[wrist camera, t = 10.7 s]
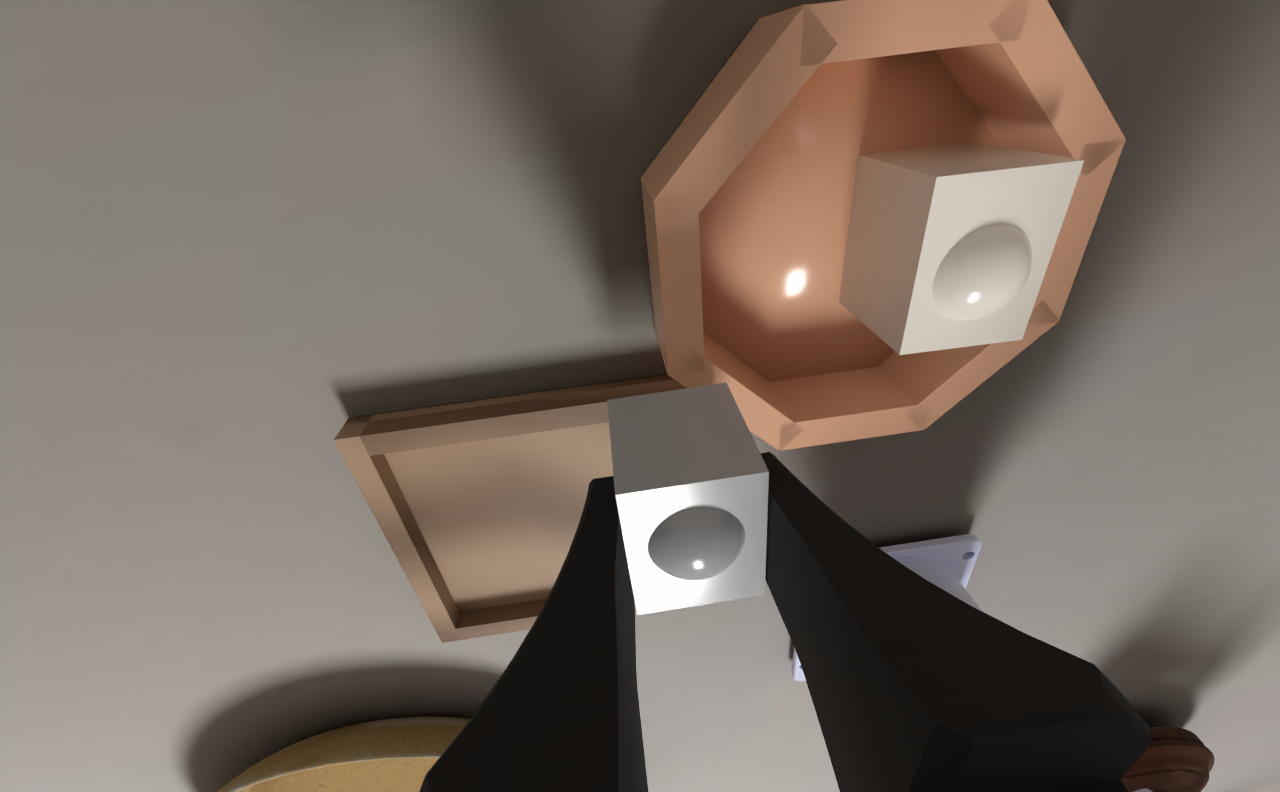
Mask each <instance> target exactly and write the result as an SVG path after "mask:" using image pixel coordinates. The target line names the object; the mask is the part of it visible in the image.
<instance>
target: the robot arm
mask: <svg viewBox="0 0 1280 792" xmlns="http://www.w3.org/2000/svg"><path fill="white" fill-rule="evenodd" d="M761 456H762V458H763V460H764V462H765V464H766V467H767V469H768V471H769V485H768V515H767V545H766V574H765V579H766V582H767V584H768V586H769V589H770V591H771V593H772V596H773V598H774V600H775V603H776V605H777V607H778V610H779V612H780V614H781V617H782V619H783V621H784V624H785V626H786V628H787V631H788V633H789V635H790V638H791V640H792V642H793V645H794V653H793V662H792V675H793V678H794V679H795V680H796V681H806V682H807V685H808V688H809V691H810V694H811V697H812V701H813V704H814V707H815V710H816V713H817V717H818V720H819V723H820V726H821V730H822V733H823V736H824V739H825V742H826V746H827V749H828V752H829V756H830V759H831V762H832V766H833V769H834V773H835V776H836V779H837V783H838V786H839V790H840V792H1129V791H1128V790H1127V789H1126V787H1125V786H1124V785H1123V783H1122V782H1121V781H1120V779H1121V778H1122V777H1123V776H1124V775H1125V774H1126V772H1127V771H1128V770H1129V769H1130V768H1131V767H1132V766H1133V765H1134V764H1135V763H1136V762H1137V760H1138V759H1139V758H1140V757H1141V756H1142V755H1143V754H1144V752H1145V751H1146V749H1147V748H1148V746H1149V745H1150V737H1151V728H1150V727H1149V725H1148V724H1147V723H1146V722H1145V721H1144V720H1143V718H1142V717H1141V716H1140V715H1139V714H1138V713H1137V711H1136V710H1135V709H1134V708H1133V707H1132V705H1131V704H1130V703H1129V702H1128V701H1127V699H1126V698H1125V697H1124V696H1123V695H1122V694H1121V692H1120V691H1119V690H1118V689H1117V688H1116V687H1115V686H1114V685H1113V684H1112V683H1111V682H1110V680H1109V679H1108V678H1107V677H1106V676H1105V675H1104V674H1103V673H1102V672H1101V671H1100V670H1099V669H1098V668H1097V667H1096V666H1095V665H1094V664H1092V663H1089V662H1087V661H1085V660H1083V659H1081V658H1078V657H1076V656H1074V655H1072V654H1069V653H1067V652H1065V651H1063V650H1061V649H1058V648H1056V647H1054V646H1052V645H1049V644H1047V643H1045V642H1043V641H1040V640H1038V639H1036V638H1034V637H1032V636H1029V635H1027V634H1025V633H1023V632H1021V631H1019V630H1017V629H1015V628H1013V627H1011V626H1009V625H1007V624H1005V623H1003V622H1001V621H999V620H997V619H995V618H993V617H991V616H990V615H988V614H986V613H984V612H982V610H981V609H980V608H979V606H978V605H977V604H976V602H975V601H974V600H973V598H972V597H971V596H970V594H969V593H968V592H967V590H966V589H965V588H966V586H967V583H968V580H969V578H970V575H971V572H972V570H973V567H974V564H975V562H976V559H977V556H978V554H979V551H980V548H981V546H982V542H981V541H980V539H979V538H978V537H977V536H976V535H974V534H966V535H959V536H952V537H946V538H939V539H932V540H926V541H919V542H912V543H906V544H899V545H892V546H886V547H877V546H876V545H875V544H873V543H872V542H871V541H869V540H868V539H867V538H865V537H864V536H863V535H862V534H860V533H859V532H858V531H856V530H855V529H854V528H853V527H851V526H850V525H849V524H848V523H846V522H845V521H844V520H843V519H842V518H840V517H839V516H838V515H837V514H836V513H835V512H833V511H832V510H831V509H830V508H829V507H828V506H827V505H826V504H824V503H823V502H822V501H821V500H820V499H819V498H818V497H816V496H815V495H814V494H813V493H812V492H811V491H810V490H809V489H808V488H807V487H806V486H805V485H804V484H802V483H801V482H800V481H799V480H798V479H797V478H796V477H795V476H794V475H793V474H792V473H791V472H790V471H789V470H788V469H787V468H786V467H785V466H784V465H783V464H782V463H781V462H780V461H779V460H778V459H777V458H776V457H775V456H774V455H773V454H772V453H770V452H767V453H761ZM419 792H648V785H647V776H646V767H645V758H644V748H643V739H642V730H641V720H640V711H639V701H638V692H637V677H636V645H635V599H634V594H633V589H632V583H631V578H630V572H629V567H628V562H627V556H626V551H625V546H624V540H623V535H622V529H621V524H620V519H619V513H618V508H617V503H616V497H615V488H614V476H609V477H602V478H595V479H593V480H592V481H591V482H590V483H589V487H588V493H587V497H586V501H585V505H584V508H583V512H582V515H581V518H580V521H579V525H578V527H577V530H576V533H575V536H574V538H573V541H572V544H571V546H570V549H569V552H568V554H567V557H566V559H565V561H564V563H563V566H562V568H561V570H560V572H559V575H558V577H557V579H556V581H555V584H554V586H553V588H552V590H551V592H550V594H549V596H548V598H547V600H546V602H545V604H544V606H543V608H542V610H541V611H540V613H539V615H538V617H537V619H536V621H535V622H534V624H533V626H532V628H531V629H530V631H529V633H528V634H527V636H526V638H525V639H524V641H523V643H522V644H521V646H520V648H519V649H518V651H517V653H516V654H515V656H514V657H513V659H512V661H511V662H510V664H509V665H508V667H507V668H506V670H505V671H504V673H503V674H502V676H501V677H500V678H499V680H498V681H497V683H496V684H495V685H494V687H493V688H492V690H491V691H490V693H489V694H488V695H487V697H486V698H485V700H484V701H483V702H482V704H481V705H480V707H479V708H478V709H477V711H476V712H475V714H474V715H473V716H472V718H471V719H470V720H469V721H468V723H467V724H466V725H465V727H464V728H463V729H462V730H461V732H460V733H459V734H458V735H457V736H456V738H455V739H454V740H453V741H452V743H451V744H450V745H449V746H448V748H447V749H446V750H445V751H444V753H443V754H442V755H441V756H440V758H439V759H438V760H437V761H436V762H435V764H434V765H433V766H432V767H431V769H430V770H429V771H428V772H427V774H426V775H425V778H424V780H423V783H422V785H421V788H420V791H419ZM1134 792H1153V791H1151V790H1149V789H1147V788H1146V789H1140V790H1137V791H1134Z"/></svg>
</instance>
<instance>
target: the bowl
mask: <svg viewBox="0 0 1280 792" xmlns="http://www.w3.org/2000/svg"><path fill="white" fill-rule="evenodd" d="M1125 141H1126V139H1125V137H1124V135H1123V133H1122V131H1121V130H1120V128H1119V126H1118V124H1117V123H1116V121H1115V119H1114V117H1113V116H1112V114H1111V112H1110V110H1109V109H1108V107H1107V105H1106V103H1105V101H1104V100H1103V98H1102V96H1101V94H1100V93H1099V91H1098V89H1097V87H1096V86H1095V84H1094V82H1093V80H1092V78H1091V77H1090V75H1089V73H1088V71H1087V70H1086V68H1085V66H1084V64H1083V63H1082V61H1081V59H1080V57H1079V55H1078V54H1077V52H1076V50H1075V48H1074V47H1073V45H1072V43H1071V41H1070V40H1069V38H1068V36H1067V34H1066V33H1065V31H1064V29H1063V27H1062V25H1061V24H1060V22H1059V20H1058V18H1057V17H1056V15H1055V13H1054V11H1053V10H1052V8H1051V6H1050V4H1049V2H1048V1H1047V0H843V1H834V2H826V3H817V4H809V5H806V4H803V5H800V6H797V7H793V8H790V9H787V10H784V11H781V12H778V13H775V14H772V15H768V16H765V17H762V18H759V19H758V21H757V22H756V24H755V25H754V26H753V28H752V29H751V30H750V32H749V33H748V34H747V36H746V37H745V38H744V40H743V41H742V43H741V44H740V45H739V47H738V48H737V49H736V51H735V52H734V53H733V55H732V56H731V57H730V59H729V60H728V61H727V63H726V64H725V65H724V67H723V68H722V69H721V71H720V72H719V73H718V75H717V76H716V77H715V79H714V80H713V81H712V83H711V84H710V85H709V87H708V88H707V89H706V91H705V92H704V94H703V95H702V96H701V98H700V99H699V100H698V102H697V103H696V104H695V106H694V107H693V108H692V110H691V111H690V112H689V114H688V115H687V116H686V118H685V119H684V120H683V122H682V123H681V124H680V126H679V127H678V128H677V130H676V131H675V132H674V134H673V135H672V136H671V138H670V139H669V141H668V142H667V143H666V145H665V146H664V147H663V149H662V150H661V151H660V153H659V154H658V155H657V157H656V158H655V159H654V161H653V162H652V163H651V165H650V166H649V167H648V169H647V170H646V171H645V173H644V174H643V175H642V177H641V178H640V180H641V187H642V197H643V208H644V218H645V229H646V239H647V250H648V260H649V271H650V281H651V292H652V302H653V313H654V323H655V333H656V336H657V340H658V343H659V346H660V350H661V353H662V357H663V360H664V364H665V367H666V371H667V374H668V376H670V377H672V378H673V379H674V380H676V381H677V382H679V383H680V384H682V385H683V386H685V387H686V388H692V387H699V386H706V385H713V384H719V383H727V385H728V387H729V389H730V391H731V393H732V395H733V397H734V399H735V401H736V404H737V406H738V408H739V410H740V412H741V414H742V416H743V418H744V420H745V422H746V425H747V427H748V429H749V431H751V432H752V433H754V434H755V435H757V436H758V437H760V438H761V439H763V440H764V441H766V442H767V443H768V444H770V445H771V446H773V447H774V448H776V449H777V450H779V451H782V450H789V449H796V448H802V447H809V446H816V445H823V444H830V443H837V442H844V441H851V440H858V439H865V438H872V437H879V436H886V435H893V434H900V433H907V432H914V431H921V430H925V429H926V428H927V427H928V426H930V425H931V424H932V423H933V422H935V421H936V420H937V419H938V418H940V417H941V416H942V415H943V414H944V413H946V412H947V411H948V410H949V409H951V408H952V407H953V406H954V405H956V404H957V403H958V402H959V401H961V400H962V399H963V398H964V397H966V396H967V395H968V394H969V393H971V392H972V391H973V390H974V389H976V388H977V387H978V386H979V385H981V384H982V383H983V382H984V381H985V380H987V379H988V378H989V377H990V376H992V375H993V374H994V373H995V372H997V371H998V370H999V369H1000V368H1002V367H1003V366H1004V365H1005V364H1007V363H1008V362H1009V361H1010V360H1012V359H1013V358H1014V357H1015V356H1017V355H1018V354H1019V353H1020V352H1021V351H1023V350H1024V349H1025V348H1026V347H1028V346H1029V345H1030V344H1031V343H1033V342H1034V341H1035V340H1036V339H1038V338H1039V337H1040V336H1041V335H1043V334H1044V333H1045V332H1046V331H1048V330H1049V329H1050V328H1051V327H1053V326H1054V325H1055V324H1056V323H1057V322H1059V321H1060V317H1061V315H1062V312H1063V309H1064V306H1065V304H1066V301H1067V298H1068V296H1069V293H1070V290H1071V287H1072V285H1073V282H1074V279H1075V277H1076V274H1077V271H1078V268H1079V266H1080V263H1081V260H1082V258H1083V255H1084V252H1085V249H1086V247H1087V244H1088V241H1089V239H1090V236H1091V233H1092V230H1093V228H1094V225H1095V222H1096V220H1097V217H1098V214H1099V211H1100V209H1101V206H1102V203H1103V201H1104V198H1105V195H1106V192H1107V190H1108V187H1109V184H1110V181H1111V179H1112V176H1113V173H1114V171H1115V168H1116V165H1117V162H1118V160H1119V157H1120V154H1121V152H1122V149H1123V146H1124V143H1125ZM968 142H978V143H984V144H990V145H996V146H1002V147H1008V148H1014V149H1020V150H1026V151H1032V152H1038V153H1044V154H1050V155H1056V156H1062V157H1068V158H1074V159H1080V160H1084V163H1083V166H1082V169H1081V172H1080V174H1079V177H1078V180H1077V183H1076V186H1075V189H1074V192H1073V195H1072V197H1071V200H1070V203H1069V206H1068V209H1067V212H1066V215H1065V218H1064V221H1063V223H1062V226H1061V229H1060V232H1059V235H1058V238H1057V241H1056V244H1055V246H1054V249H1053V252H1052V255H1051V258H1050V261H1049V264H1048V267H1047V269H1046V272H1045V275H1044V278H1043V281H1042V284H1041V287H1040V290H1039V293H1038V295H1037V298H1036V301H1035V304H1034V307H1033V310H1032V313H1031V316H1030V318H1029V321H1028V324H1027V327H1026V330H1025V333H1024V336H1023V339H1022V340H1016V341H1008V342H1000V343H992V344H984V345H976V346H968V347H961V348H953V349H945V350H937V351H929V352H921V353H913V354H905V355H899V354H898V353H897V352H895V351H894V350H893V349H892V348H891V347H890V346H889V345H887V344H886V343H885V342H884V341H883V340H882V339H881V338H879V337H878V336H877V335H876V334H875V333H874V332H873V331H871V330H870V329H869V328H868V327H867V326H866V325H865V324H863V323H862V322H861V321H860V320H859V319H858V318H857V317H855V316H854V315H853V314H852V313H851V312H850V311H849V310H847V309H846V308H845V307H844V306H843V305H842V304H841V303H840V302H839V299H840V291H841V283H842V276H843V268H844V260H845V253H846V245H847V237H848V229H849V222H850V214H851V206H852V198H853V191H854V183H855V175H856V168H857V160H858V155H860V154H869V153H878V152H887V151H896V150H905V149H914V148H923V147H932V146H941V145H950V144H959V143H968Z"/></svg>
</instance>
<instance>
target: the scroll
mask: <svg viewBox="0 0 1280 792" xmlns="http://www.w3.org/2000/svg"><path fill="white" fill-rule="evenodd" d="M1150 728H1151V737H1150V745H1149V746H1148V748H1147V749H1146V751H1145V752H1144V754H1143V755H1142V756H1141V757H1140V758H1139V759H1138V760H1137V762H1136V763H1135V764H1134V765H1133V766H1132V767H1131V768H1130V769H1129V770H1128V771H1127V772H1126V774H1125V775H1124V776H1123V777H1122V778H1121V779H1120V781H1121V782H1122V783H1123V785H1124V786H1125V787H1126V789H1127V790H1128V791H1129V792H1134V791H1137V790H1140V789H1146V788H1147V789H1149V790H1151V791H1153V792H1201V790H1202V789H1203V788H1204V787H1205V786H1206V784H1207V782H1208V780H1209V772H1210V770H1211V769H1212V767H1213V764H1214V756H1213V753H1212V752H1211V751H1210V750H1209V749H1208V748H1207V747H1205V746H1204V744H1203V743H1202V742H1201V740H1200V739H1199V738H1198V737H1197V736H1196V735H1195V734H1194V733H1192V732H1191V731H1188V730H1186V729H1182V728H1176V727H1150Z"/></svg>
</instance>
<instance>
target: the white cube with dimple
mask: <svg viewBox="0 0 1280 792" xmlns="http://www.w3.org/2000/svg"><path fill="white" fill-rule="evenodd" d="M607 405H608V417H609V428H610V440H611V452H612V464H613V476H614V488H615V497H616V503H617V508H618V513H619V519H620V524H621V529H622V535H623V540H624V546H625V551H626V556H627V562H628V567H629V572H630V578H631V583H632V589H633V594H634V599H635V605H636V610H637V615H642V614H648V613H655V612H661V611H667V610H674V609H680V608H686V607H692V606H699V605H705V604H711V603H718V602H724V601H730V600H737V599H743V598H749V597H756V596H762V595H765V574H766V545H767V515H768V485H769V471H768V469H767V467H766V464H765V462H764V460H763V458H762V456H761V454H760V452H759V450H758V448H757V446H756V443H755V441H754V439H753V437H752V435H751V433H750V431H749V429H748V427H747V425H746V422H745V420H744V418H743V416H742V414H741V412H740V410H739V408H738V406H737V404H736V401H735V399H734V397H733V395H732V393H731V391H730V389H729V387H728V385H727V383H719V384H713V385H706V386H699V387H692V388H686V389H679V390H672V391H665V392H658V393H652V394H645V395H638V396H631V397H625V398H618V399H611V400H607Z"/></svg>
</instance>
